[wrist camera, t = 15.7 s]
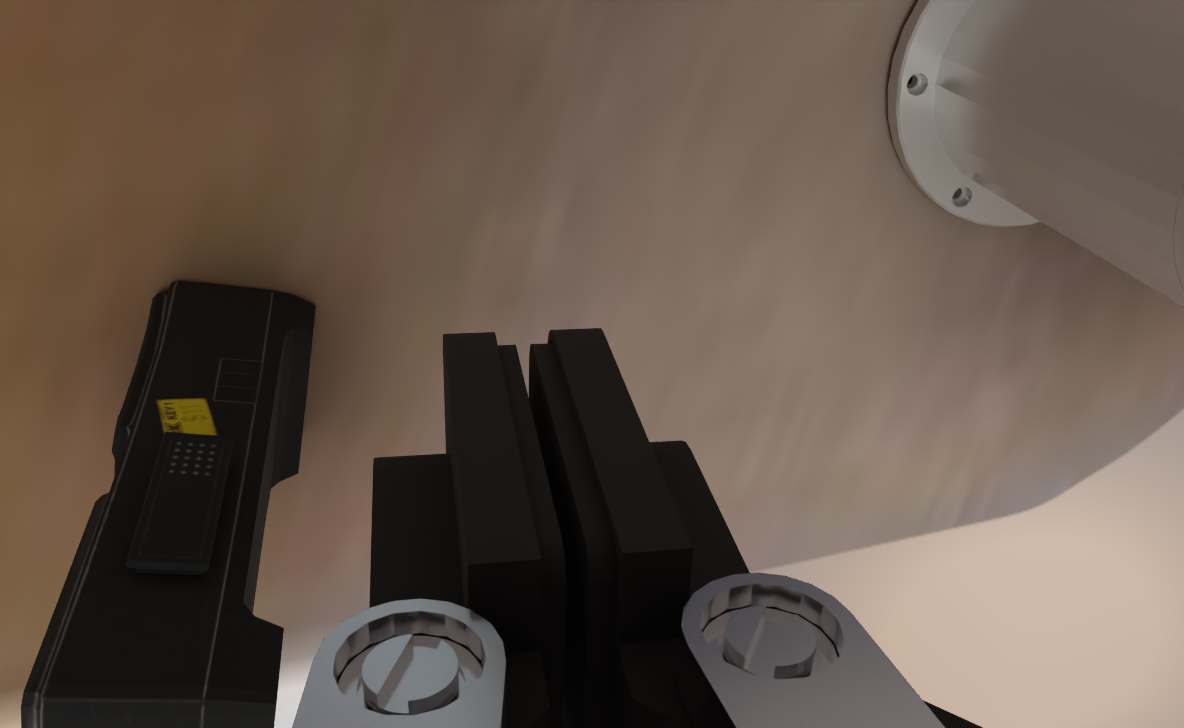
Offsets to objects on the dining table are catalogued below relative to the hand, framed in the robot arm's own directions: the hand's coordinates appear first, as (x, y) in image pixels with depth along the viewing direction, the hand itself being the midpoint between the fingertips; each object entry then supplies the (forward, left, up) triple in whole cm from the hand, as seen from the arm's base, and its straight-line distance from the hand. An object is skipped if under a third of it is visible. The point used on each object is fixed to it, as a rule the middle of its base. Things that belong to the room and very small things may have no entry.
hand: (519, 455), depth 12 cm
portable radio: (+8, +13, -31) cm, 35 cm away
